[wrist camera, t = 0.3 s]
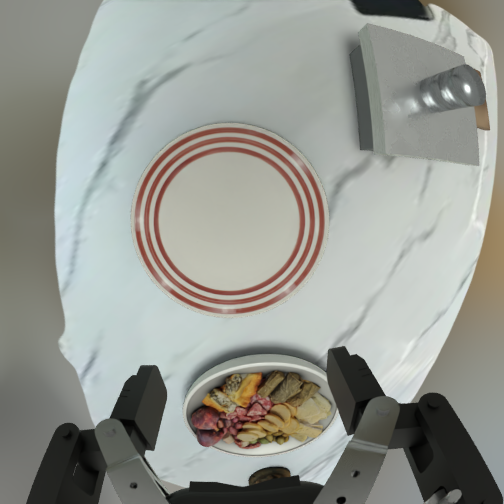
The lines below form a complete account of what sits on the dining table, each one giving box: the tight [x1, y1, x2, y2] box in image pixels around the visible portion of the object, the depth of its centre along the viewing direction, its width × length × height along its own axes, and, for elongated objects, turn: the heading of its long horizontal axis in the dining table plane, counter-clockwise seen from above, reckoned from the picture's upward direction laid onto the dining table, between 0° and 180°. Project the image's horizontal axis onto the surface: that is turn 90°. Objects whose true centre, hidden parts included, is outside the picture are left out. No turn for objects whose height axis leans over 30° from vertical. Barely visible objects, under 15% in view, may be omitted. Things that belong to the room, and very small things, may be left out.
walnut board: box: [473, 68, 490, 130], centre depth 33 cm, size 13×13×2 cm
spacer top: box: [438, 64, 486, 109], centre depth 20 cm, size 5×5×4 cm
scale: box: [350, 45, 374, 151], centre depth 31 cm, size 16×17×8 cm
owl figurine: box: [249, 467, 291, 485], centre depth 52 cm, size 18×12×17 cm, turn 172°
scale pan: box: [358, 23, 479, 166], centre depth 27 cm, size 18×18×3 cm
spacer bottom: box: [420, 73, 455, 112], centre depth 24 cm, size 5×5×4 cm
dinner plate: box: [131, 123, 329, 318], centre depth 38 cm, size 27×27×3 cm
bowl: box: [183, 354, 339, 457], centre depth 46 cm, size 30×30×8 cm
